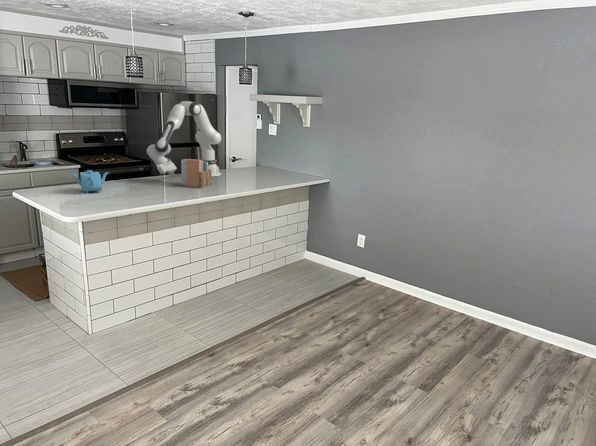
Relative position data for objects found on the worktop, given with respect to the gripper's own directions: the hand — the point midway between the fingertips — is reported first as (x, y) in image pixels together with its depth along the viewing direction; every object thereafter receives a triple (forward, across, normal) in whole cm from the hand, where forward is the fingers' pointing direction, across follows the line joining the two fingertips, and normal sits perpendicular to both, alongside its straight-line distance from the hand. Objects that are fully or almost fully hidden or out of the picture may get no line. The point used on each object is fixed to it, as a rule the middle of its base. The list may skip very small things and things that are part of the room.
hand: (173, 176), depth 354 cm
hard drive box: (+16, -1, -8) cm, 18 cm away
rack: (+23, 0, -15) cm, 28 cm away
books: (+19, 0, -11) cm, 22 cm away
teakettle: (-20, -54, +29) cm, 64 cm away
